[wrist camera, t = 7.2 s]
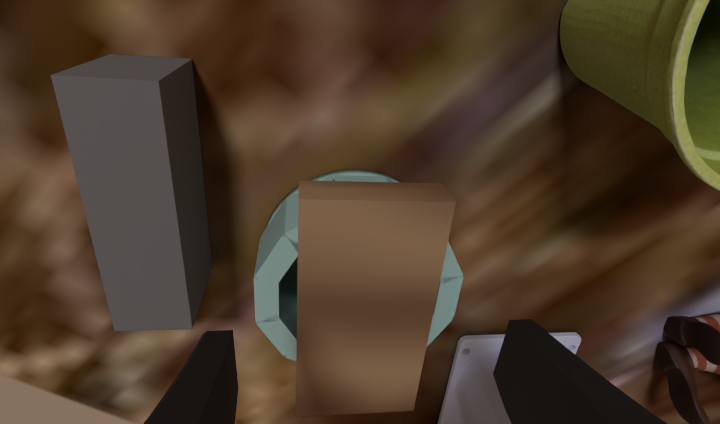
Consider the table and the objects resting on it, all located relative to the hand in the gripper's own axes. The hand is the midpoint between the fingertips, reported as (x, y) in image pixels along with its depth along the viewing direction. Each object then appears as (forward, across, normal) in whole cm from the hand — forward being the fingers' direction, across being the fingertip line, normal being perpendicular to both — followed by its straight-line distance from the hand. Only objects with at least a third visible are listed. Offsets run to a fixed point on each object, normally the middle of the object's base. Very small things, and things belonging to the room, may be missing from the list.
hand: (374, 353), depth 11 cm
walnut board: (+6, -1, +4) cm, 7 cm away
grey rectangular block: (+11, +8, 0) cm, 13 cm away
